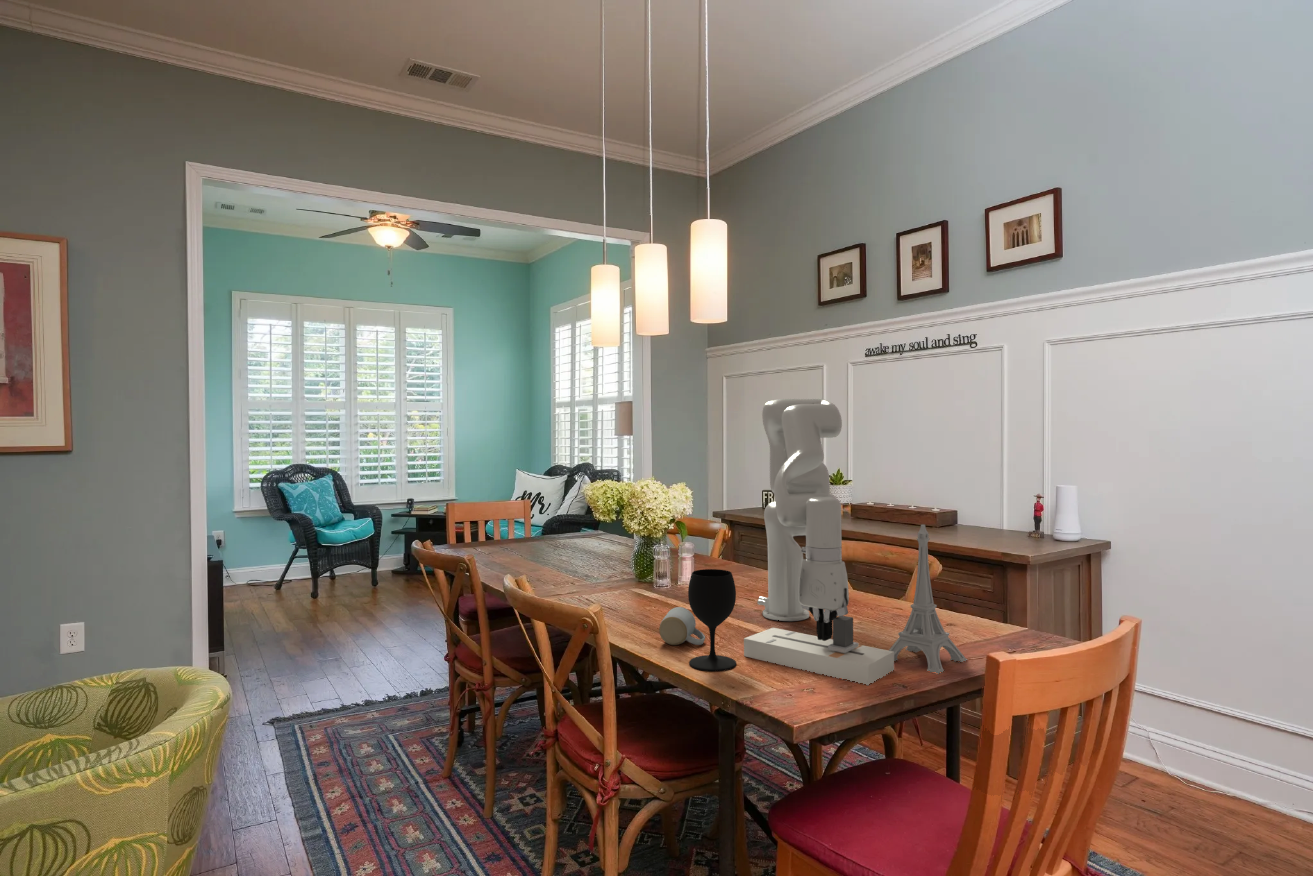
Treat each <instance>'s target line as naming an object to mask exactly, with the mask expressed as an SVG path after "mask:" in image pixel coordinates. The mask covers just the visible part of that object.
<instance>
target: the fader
mask: <svg viewBox="0 0 1313 876" xmlns="http://www.w3.org/2000/svg"><path fill="white" fill-rule="evenodd" d="M832 639H833V644H830V645H828V650H833V651H838V652H842V653H846V652H849V651H851V650H853V649H855V648H857V647H859V645H860V644H859V642H857V641H854V617H853V616H847V615H843V616H837V617H836V618H833V621H832Z"/></svg>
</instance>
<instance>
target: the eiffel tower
mask: <svg viewBox="0 0 1313 876" xmlns="http://www.w3.org/2000/svg"><path fill="white" fill-rule="evenodd" d="M929 537H930V535H929V531H927V528H926V524H920V528H919V530H918V532H917V538H916V541H917V543H918V556H917V557H918V560H917V562H918V563H917V575H916V582H915V583H916V584H915V592H914V599H913V604H910V608H911V611H910V615H909V616H908V619H907V621H906V624H905V626H904V627H903V628H904V629H903V630H902V631H900V632H898V634H897V635H898V636H899V637H898V638H897V639H896V641H895V642H894V643H893V644H892V645H891V647H890V648H889V649H888V651H893V652H894V661H895V662H897V661H899V658H898V656H899V654H900V652H901V651H902V650H903V649H904V648H905V649H906V650H905V651H907V650H908V651H909V652H912V651H913V652H912V653H918V652H921V651H922V652H923V654H924V655H925V657H926V661H927V669H926V670H927V671H930V672H929V673H931V672H936V673H938V674H937V675H939V673H940V672H942V673H944V672H945V671H944V670H945V669H944V668H943V666H942V662H941V657H940V656H941V655H940V653H941V648H943V649H945V650H946V651H947V653H948V654H949V656H950V658H949V660H950V661H951V660H954V661H953V662H956V661H960V662H963V661H965V662H966V660H967V661H968V658H966V657H965V656H964V654H963V653H962V652H961V650H960V649H959V648H958V647H957V646H956V644H955V643H954V642H953V641H952V640H951V639H950V637H949V636H950V632H947V631H945V629H944V627H943V625H942V623H941V621H940V618H939V616H938V613H937V611H936V608H937V605H938V604H935V602H934V598H933V592H932V591H933V590H932V584H931V576H930V575H931V573H930V565H929V564H930V563H929V550H928V549H929V548H928V543H929V541H930V539H931V538H929ZM908 651H907V652H908ZM896 660H897V661H896ZM960 662H959V663H960ZM963 663H964V662H963ZM927 671H926V672H927ZM943 671H944V672H943ZM936 673H935V674H936ZM940 674H941V673H940Z"/></svg>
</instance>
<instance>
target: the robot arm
mask: <svg viewBox="0 0 1313 876" xmlns="http://www.w3.org/2000/svg"><path fill="white" fill-rule="evenodd" d="M761 412H762V413H761V415H762V425H763V427H764V428H763V429H764V431H765V434H766V437H767V439H768V443H769V487H770V490H771V492H772V493H773V497H774V501H772V502H770V503H769V504H767V505H766V507H765V509H764V512H763V517H764V518H763V519H764V525H765V530H766V531H765V532H766V540H767V584H768V585H767V590H768V591H767V596H768V597H766V596H759V597H758V599H757V605H760V606H764V609H763V610H762V616H763V617H764V618H766V619H769V620H773V621H778V620H779V621H780V622H798V621H804V620H807V619H809V617H810V614H811V615H812V617H813V620H814V621H815V623H816V635H817V636H818V640H822V641H826V640H828V639H832V637H833V618H836V617H838V616H847V615H849V610H848V605H849V600H850V599H849V598H850V597H849V595H850V593H849V582H848V573H847V568H846V563H845V561H843V560H842V557H843V555H842V553H843V552H842V551H843V550H842V542H843V541H842V503H841V500H840V499H838V498H837V497H836V496H835V495H834V494H831V493H830V492H831V491H830V487H831V486H830V485H831V484H830V472H829V470H828V468H827V466H826V464H825V463H824V462H823V461H824V458H825V457H824V456H825V455H824V450H823V445H822V441H821V439H822V438H823V439H827V438H828V439H829V438H830V439H831V438H837V437H838V436H839V435H840V433H841V431H842V429H843V428H842V426H843V420H842V414H841V413H840V410H839V408H838V407H837V406H836V404H834V402H833V403H832V402H831V401H829V400H826V399H824V398H823V399H822V398H821V399H819V398H801V399H800V398H790V399H789V398H785V399H784V398H783V399H773V400H769V401H767V402H766V403H765V404H764V405H763V407H762V411H761ZM797 536H805V546H800V545H799V544H798V542H797V541H796V540H795V539H794V537H797ZM804 554H805V558H804Z"/></svg>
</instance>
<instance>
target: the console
mask: <svg viewBox="0 0 1313 876" xmlns="http://www.w3.org/2000/svg"><path fill="white" fill-rule="evenodd" d="M830 644H833V638H831V639H828V640H826V641H822V640H818V635H813V634H812V635H811V634H807V633H802V632H797V631H792V630H787V629H783V628H777V627H770V628H768V629H765V630H763V631H761V632H758V633H754V634H751V635H750V636H747V637H743V657H747V658H750V659H751V658H752V659H754V660H760V661H762V662H763V661H764V662H767V661H768V662H767V663H772V664H775V663H776V664H777V665H781V666H784V665H785V666H784V667H789V668H792V667H793V669H798V670H801V669H802V670H801V671H805V670H807V671H806V672H809V671H810V673H813V672H815V673H814V674H818V675H822V674H824V675H823V676H826V675H827V677H830V676H832V678H835V677H836V679H839V678H842V679H841V680H843V679H847V680H850V681H849V682H852V681H855V682H854V683H856V682H858V683H857V684H860V683H863V684H862V685H864V684H866V686H870V685H871V684H870V683H872V684H873V683H875V682H876V680H877V679H879V678H880V679H882V678H883V676H884V677H886V676H887V675H889V674H890V673H889V672H891V671H892V672H893V670H894V671H895V662H894V652H893V651H889V649H882V648H877V647H872V646H867V645H863V644H859V647H857V648H855V649H853V650H851V651H849V652H846V653H842V652H838V651H833V650H828V645H830ZM892 672H891V673H892ZM888 673H889V674H888ZM886 674H887V675H886ZM880 679H879V680H880ZM847 680H846V681H847ZM874 681H875V682H874ZM877 681H878V680H877ZM869 684H870V685H869Z"/></svg>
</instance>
